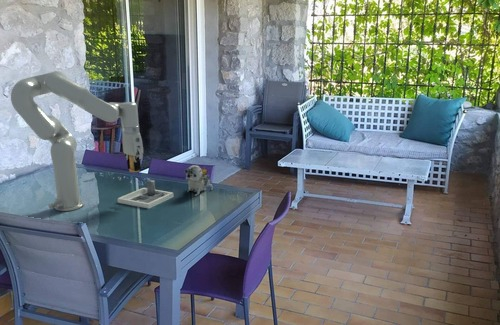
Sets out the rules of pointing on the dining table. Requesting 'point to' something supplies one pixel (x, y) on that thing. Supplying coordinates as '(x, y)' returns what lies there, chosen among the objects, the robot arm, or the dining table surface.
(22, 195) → the dining table surface
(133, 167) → the jaw orange
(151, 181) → the jaw grey
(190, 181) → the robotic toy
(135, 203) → the tray
